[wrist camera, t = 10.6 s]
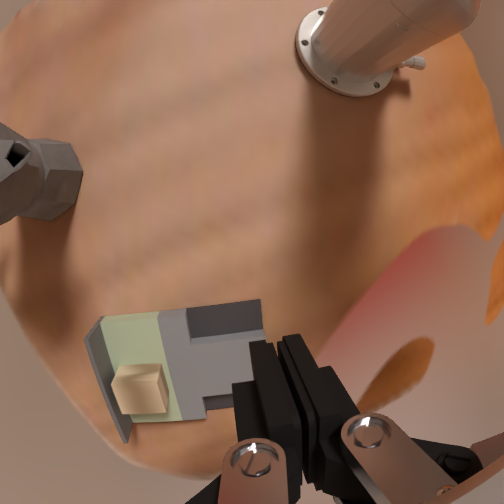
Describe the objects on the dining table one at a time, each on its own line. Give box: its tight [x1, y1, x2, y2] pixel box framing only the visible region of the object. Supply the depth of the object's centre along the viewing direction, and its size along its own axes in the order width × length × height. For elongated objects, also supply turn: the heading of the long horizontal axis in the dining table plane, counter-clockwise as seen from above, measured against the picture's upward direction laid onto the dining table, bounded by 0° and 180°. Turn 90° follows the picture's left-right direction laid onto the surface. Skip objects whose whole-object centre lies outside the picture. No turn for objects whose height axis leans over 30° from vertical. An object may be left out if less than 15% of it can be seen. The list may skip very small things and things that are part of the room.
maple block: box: [111, 363, 169, 414], centre depth 30 cm, size 5×4×4 cm
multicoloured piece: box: [84, 299, 266, 443], centre depth 31 cm, size 18×14×6 cm
